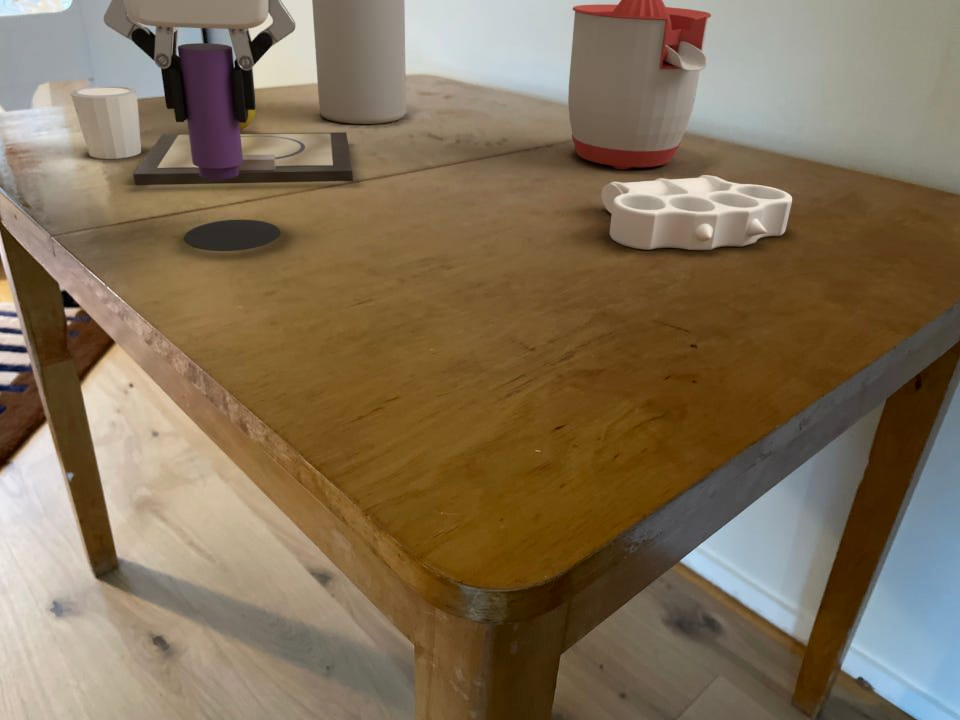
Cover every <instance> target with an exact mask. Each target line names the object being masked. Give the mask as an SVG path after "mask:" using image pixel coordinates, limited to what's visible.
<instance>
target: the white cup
mask: <svg viewBox="0 0 960 720" xmlns="http://www.w3.org/2000/svg"><path fill="white" fill-rule="evenodd" d="M70 96H71V100H72V103H73V106H74V110H75V113H76V116H77V120H78V123H79V126H80V129H81V132H82V136H83V139H84V142H85V146H86V149H87V152H88V155H89V156H90V157H91V158H95V159H103V160H118V159H126V158H132V157H135V156H138V155H139V154H141V153H142V142H141V132H140V131H141V129H140V117H139V103H138V92H137V90H136V89H134V88H131V87H130V88H129V87H123V86H94V87H93V86H92V87H85V88H79V89H75V90H73V91H71V92H70Z"/></svg>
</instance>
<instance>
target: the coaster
mask: <svg viewBox="0 0 960 720" xmlns="http://www.w3.org/2000/svg"><path fill="white" fill-rule="evenodd" d="M280 236H281V230H280V228H279V227H277V226H276V225H274V224H272V223H270V222H267V221H261V220H256V219H226V220H217V221H212V222H208V223H205V224H204V223H203V224H201V225H198V226H195V227H193V228H191V229H190V230H189V231H187V232H186V233H185V235H184V238H183V239H184V242H185V244H187V245H189V246H190V247H193V248H195V249H199V250H203V251H205V250H206V251H211V252H212V251H213V252H236V251H245V250H251V249H256V248H260V247H263V246H266V245H269V244H270V243H273V242H275V241H276V240H278V239H279V237H280Z"/></svg>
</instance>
